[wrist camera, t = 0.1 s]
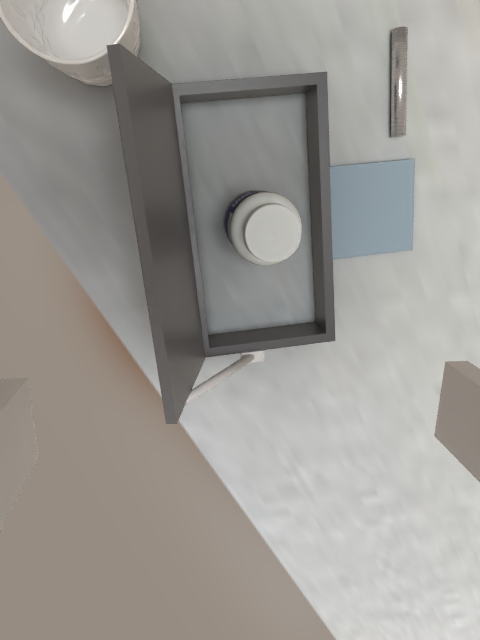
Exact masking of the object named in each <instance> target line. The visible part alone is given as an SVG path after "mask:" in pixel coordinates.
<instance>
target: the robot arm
mask: <svg viewBox="0 0 480 640" xmlns="http://www.w3.org/2000/svg"><path fill="white" fill-rule="evenodd" d="M435 437H436V438H437V439H438V440H439V441H440V442H441V443H442V444H443V445H444V446H445V447H446V448H447V449H448V450H449V451H450V452H451V453H452V454H453V455H454V456H455V457H456V458H457V459H458V460H459V462H460V463H461V464H462V465H463V466H464V467H465V468H466V469H467V470H468V471H469V472H470V473H471V474H472V475H473V476H474V477H475V478H476V479H477V480H478V481H479V482H480V369H479V368H478V367H476V366H474V365H473V364H471V363H470V362H468V361H453V362H445V368H444V374H443V381H442V388H441V395H440V402H439V408H438V415H437V422H436V429H435ZM38 460H39V454H38V447H37V439H36V432H35V426H34V418H33V411H32V403H31V396H30V390H29V382H28V378H11V379H0V532H1V530H2V528H3V526H4V524H5V522H6V520H7V518H8V517H9V515H10V513H11V511H12V509H13V507H14V505H15V503H16V501H17V499H18V498H19V496H20V494H21V492H22V490H23V488H24V486H25V484H26V482H27V481H28V479H29V477H30V475H31V473H32V471H33V469H34V467H35V466H36V463H37V462H38Z"/></svg>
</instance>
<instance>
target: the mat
mask: <svg viewBox="0 0 480 640" xmlns="http://www.w3.org/2000/svg"><path fill="white" fill-rule="evenodd" d="M414 166H415V159H407V160H397V161H386V162H376V163H365V164H355V165H344V166H334V167H330V189H331V221H332V254H333V259H338V258H347V257H356V256H365V255H374V254H382V253H391V252H400V251H409V250H413V211H414Z"/></svg>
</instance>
